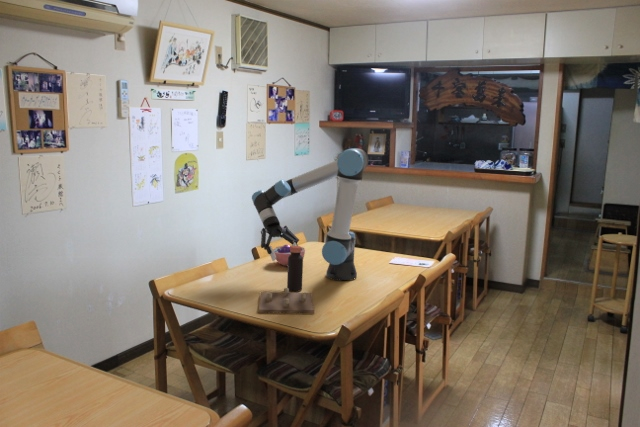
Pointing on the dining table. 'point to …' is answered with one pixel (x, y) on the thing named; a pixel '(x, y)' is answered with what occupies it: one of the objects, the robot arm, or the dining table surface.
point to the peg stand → (285, 302)
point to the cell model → (285, 254)
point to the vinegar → (295, 269)
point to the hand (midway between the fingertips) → (287, 257)
